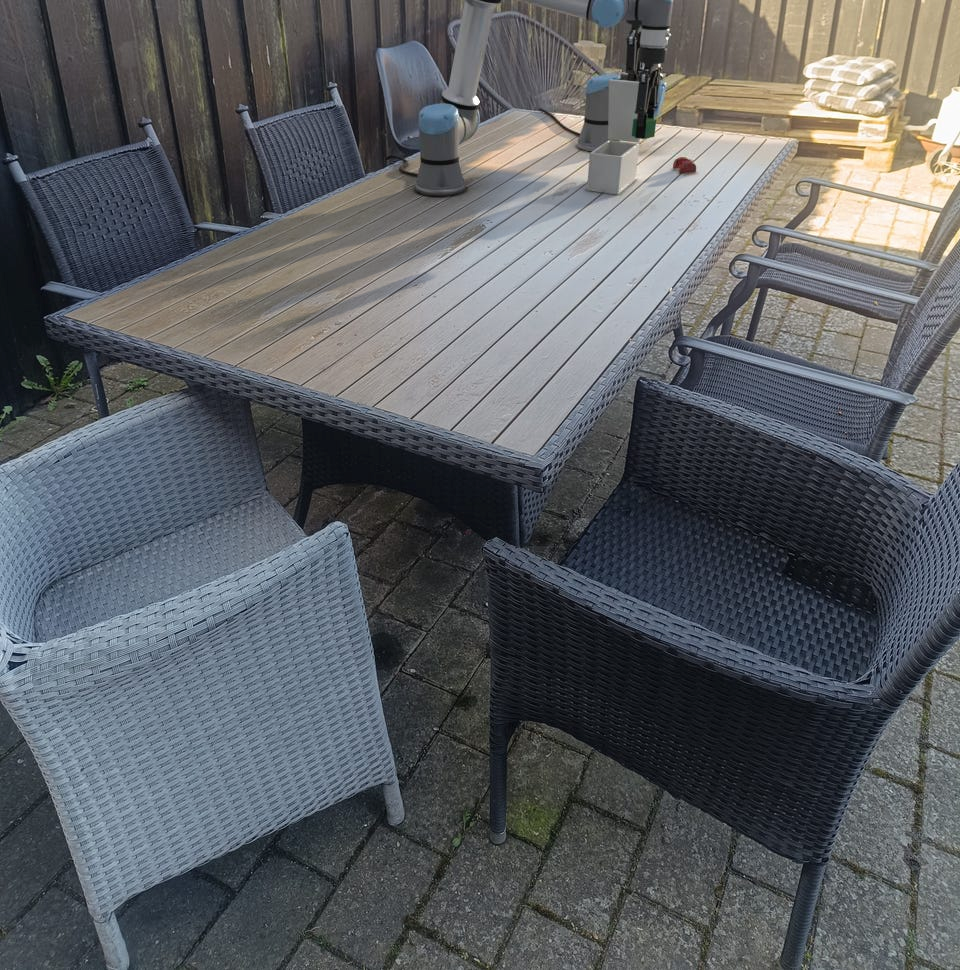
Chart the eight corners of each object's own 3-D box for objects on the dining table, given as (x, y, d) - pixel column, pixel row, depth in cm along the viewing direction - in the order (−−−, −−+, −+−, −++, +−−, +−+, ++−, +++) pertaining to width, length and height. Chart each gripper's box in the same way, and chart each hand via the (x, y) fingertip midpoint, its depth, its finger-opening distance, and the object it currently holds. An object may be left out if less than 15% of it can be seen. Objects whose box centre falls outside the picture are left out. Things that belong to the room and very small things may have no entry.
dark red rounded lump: (688, 153, 276) (699, 160, 270) (686, 166, 279) (697, 173, 272) (672, 155, 275) (682, 161, 269) (670, 168, 278) (681, 175, 271)
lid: (641, 83, 247) (650, 70, 252) (608, 80, 250) (618, 68, 255) (639, 142, 260) (647, 129, 265) (608, 139, 264) (617, 126, 269)
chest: (618, 194, 254) (621, 157, 248) (586, 190, 258) (589, 153, 252) (635, 179, 267) (639, 143, 261) (605, 175, 271) (608, 140, 264)
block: (643, 139, 240) (645, 122, 237) (631, 136, 243) (633, 118, 240) (654, 136, 242) (656, 119, 240) (642, 133, 245) (644, 116, 243)
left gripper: (656, 52, 221) (646, 144, 234) (676, 42, 235) (665, 129, 248) (629, 50, 223) (620, 141, 237) (650, 40, 237) (641, 127, 251)
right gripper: (645, 11, 237) (636, 101, 251) (660, 5, 248) (650, 92, 262) (619, 10, 240) (612, 99, 254) (635, 4, 251) (627, 90, 264)
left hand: (643, 135), depth 242 cm, fingers closed on block, 6 cm apart
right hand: (631, 95), depth 258 cm, fingers closed on lid, 2 cm apart
